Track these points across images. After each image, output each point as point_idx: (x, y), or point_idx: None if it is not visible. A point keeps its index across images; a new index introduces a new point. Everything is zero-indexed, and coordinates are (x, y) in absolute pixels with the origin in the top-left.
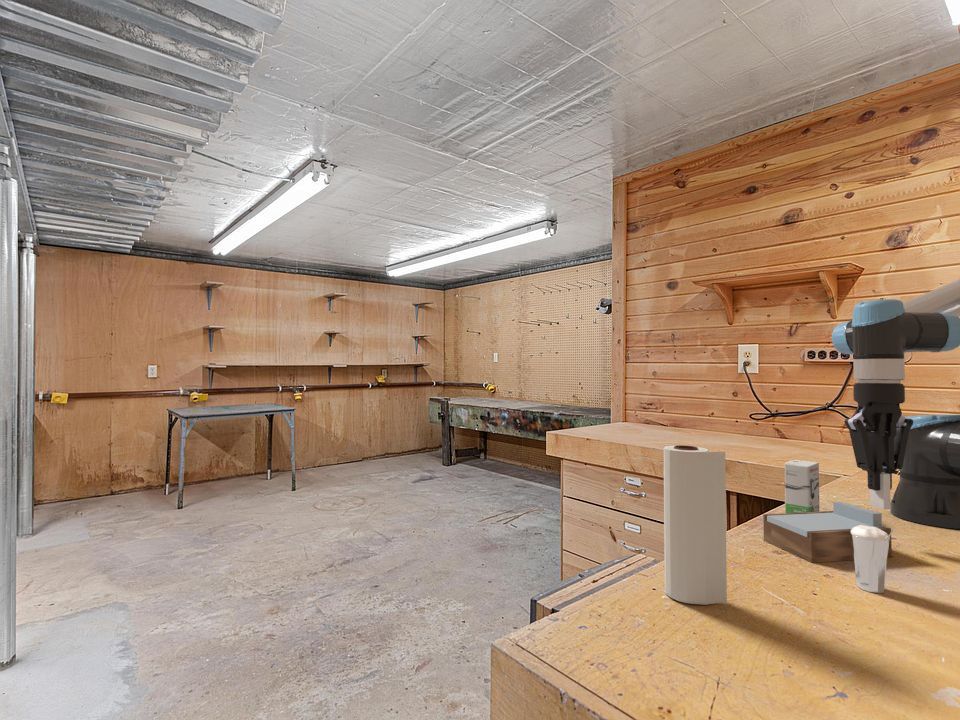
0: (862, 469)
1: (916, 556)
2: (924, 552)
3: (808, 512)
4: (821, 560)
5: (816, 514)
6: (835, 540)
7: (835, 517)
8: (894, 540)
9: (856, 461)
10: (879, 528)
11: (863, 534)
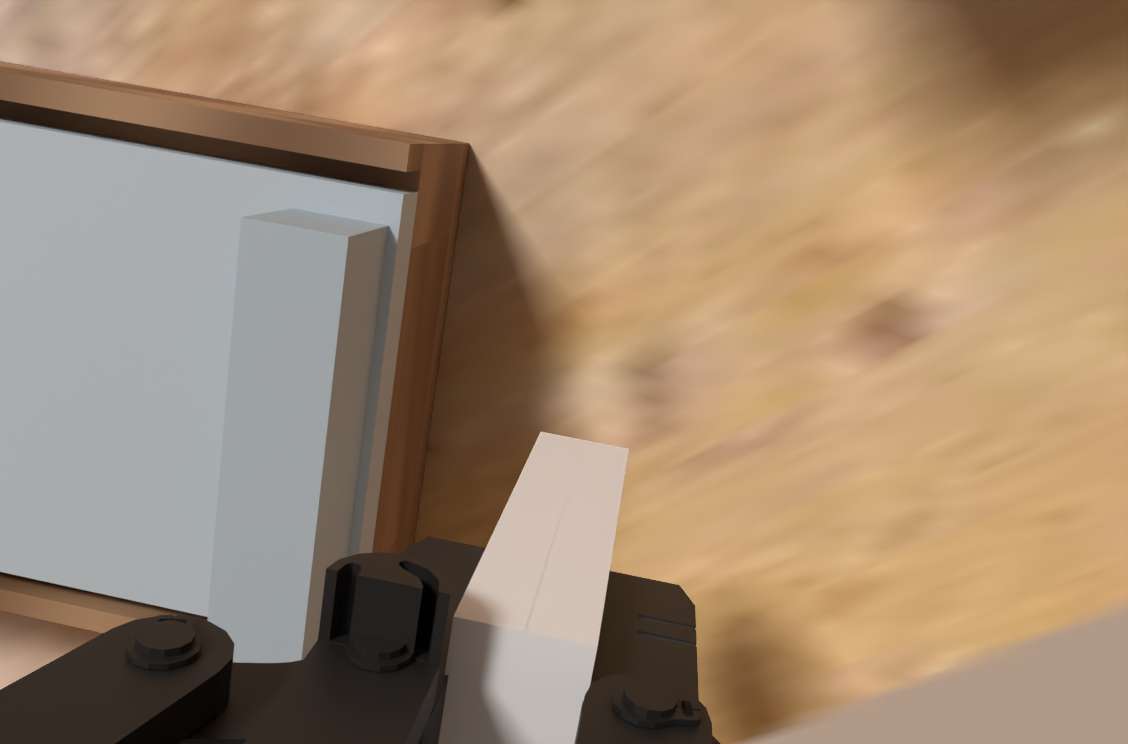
0: (351, 567)
1: None
2: (742, 605)
3: (75, 97)
4: None
5: (94, 177)
6: None
7: (184, 312)
8: (840, 373)
9: (37, 680)
10: None
11: None
